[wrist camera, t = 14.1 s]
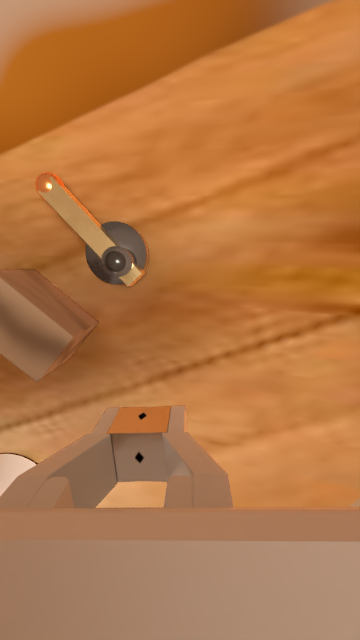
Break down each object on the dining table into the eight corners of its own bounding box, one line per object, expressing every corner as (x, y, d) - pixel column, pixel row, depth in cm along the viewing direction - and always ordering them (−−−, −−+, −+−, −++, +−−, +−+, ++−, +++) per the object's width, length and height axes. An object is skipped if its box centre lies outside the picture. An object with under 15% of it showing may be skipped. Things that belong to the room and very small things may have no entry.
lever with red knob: (163, 258, 34) (156, 256, 28) (124, 297, 36) (109, 303, 29) (77, 164, 32) (50, 140, 26) (39, 209, 34) (5, 195, 27)
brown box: (68, 359, 38) (37, 382, 31) (-3, 302, 37) (-54, 311, 29) (98, 322, 37) (73, 337, 29) (25, 262, 36) (-21, 260, 28)
